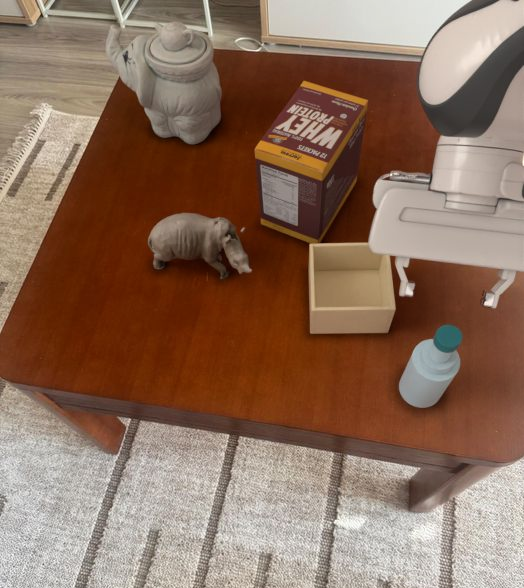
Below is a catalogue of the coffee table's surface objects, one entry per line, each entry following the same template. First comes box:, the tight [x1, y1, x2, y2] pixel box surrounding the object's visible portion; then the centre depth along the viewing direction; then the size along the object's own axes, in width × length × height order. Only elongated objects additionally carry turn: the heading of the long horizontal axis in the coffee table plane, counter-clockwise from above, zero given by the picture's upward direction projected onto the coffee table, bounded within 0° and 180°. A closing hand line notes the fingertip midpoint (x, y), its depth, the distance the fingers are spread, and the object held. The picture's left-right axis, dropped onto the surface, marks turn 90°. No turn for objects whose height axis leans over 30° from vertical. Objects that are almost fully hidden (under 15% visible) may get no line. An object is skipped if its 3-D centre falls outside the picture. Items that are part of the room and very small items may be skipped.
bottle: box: [398, 324, 464, 409], centre depth 64 cm, size 6×6×15 cm
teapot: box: [105, 21, 223, 145], centre depth 88 cm, size 16×15×19 cm
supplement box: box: [254, 80, 369, 244], centre depth 79 cm, size 10×15×16 cm
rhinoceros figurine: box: [147, 212, 253, 280], centre depth 78 cm, size 8×14×15 cm
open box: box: [308, 242, 397, 335], centre depth 74 cm, size 11×11×6 cm
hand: (446, 301), depth 62 cm, fingers open, 8 cm apart
